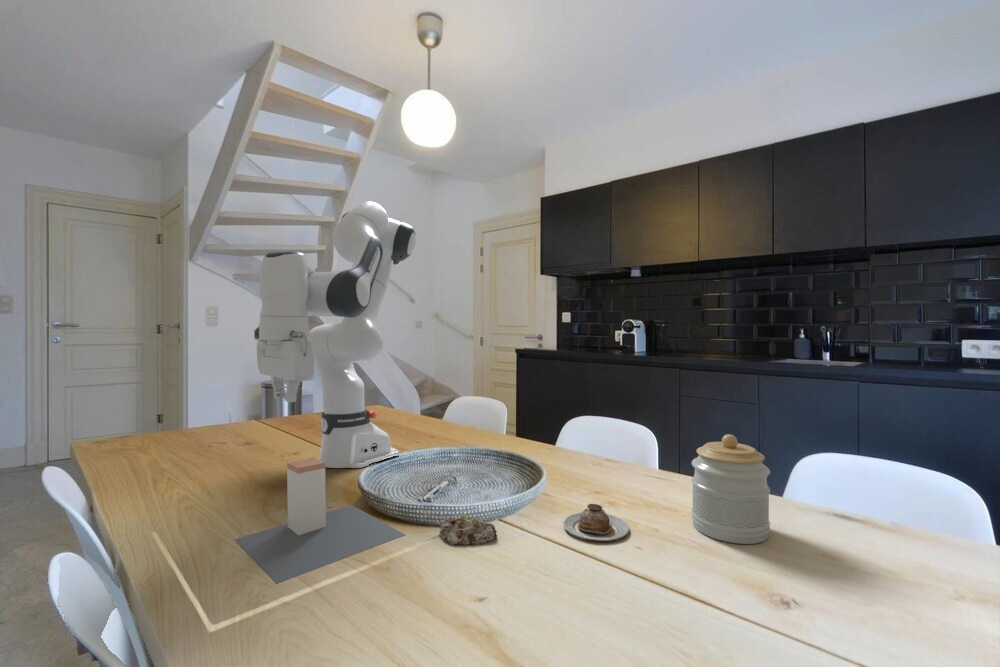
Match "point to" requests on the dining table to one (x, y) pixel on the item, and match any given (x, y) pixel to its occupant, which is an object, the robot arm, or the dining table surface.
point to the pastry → (595, 524)
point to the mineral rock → (467, 531)
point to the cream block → (306, 495)
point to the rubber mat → (316, 543)
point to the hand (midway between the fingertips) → (285, 400)
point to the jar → (731, 492)
